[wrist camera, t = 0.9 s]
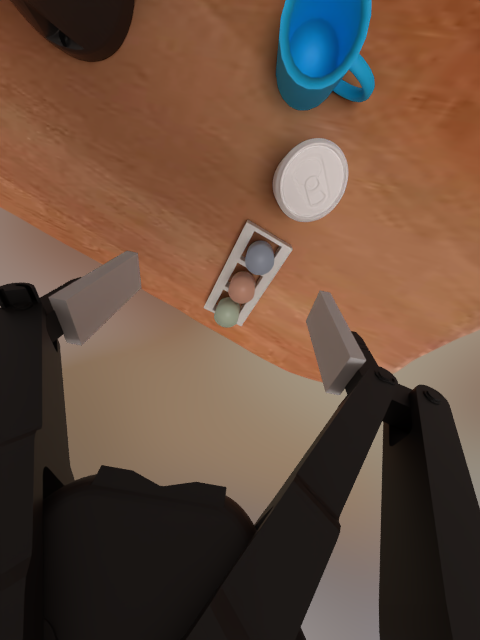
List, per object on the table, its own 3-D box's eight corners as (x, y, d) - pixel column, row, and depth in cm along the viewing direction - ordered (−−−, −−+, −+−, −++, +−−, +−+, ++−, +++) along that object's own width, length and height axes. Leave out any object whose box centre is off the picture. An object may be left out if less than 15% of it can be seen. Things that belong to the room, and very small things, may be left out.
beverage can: (314, 135, 30) (338, 114, 20) (333, 192, 34) (361, 198, 24) (263, 172, 33) (262, 169, 23) (285, 221, 36) (293, 237, 26)
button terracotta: (227, 287, 41) (223, 296, 38) (238, 266, 38) (235, 274, 35) (248, 297, 42) (246, 307, 39) (260, 278, 39) (259, 287, 36)
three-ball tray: (206, 302, 47) (203, 307, 45) (247, 219, 37) (246, 221, 35) (242, 319, 49) (241, 326, 46) (291, 245, 39) (292, 249, 36)
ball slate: (242, 259, 38) (240, 266, 34) (255, 235, 35) (254, 240, 32) (264, 271, 38) (264, 279, 35) (278, 249, 36) (280, 255, 33)
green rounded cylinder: (214, 310, 44) (210, 320, 41) (223, 293, 42) (220, 302, 39) (233, 320, 45) (231, 331, 42) (244, 304, 43) (242, 314, 39)
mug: (263, 86, 28) (263, 57, 21) (302, -8, 24) (317, -83, 17) (335, 141, 30) (356, 130, 23) (383, 64, 26) (424, 24, 19)
